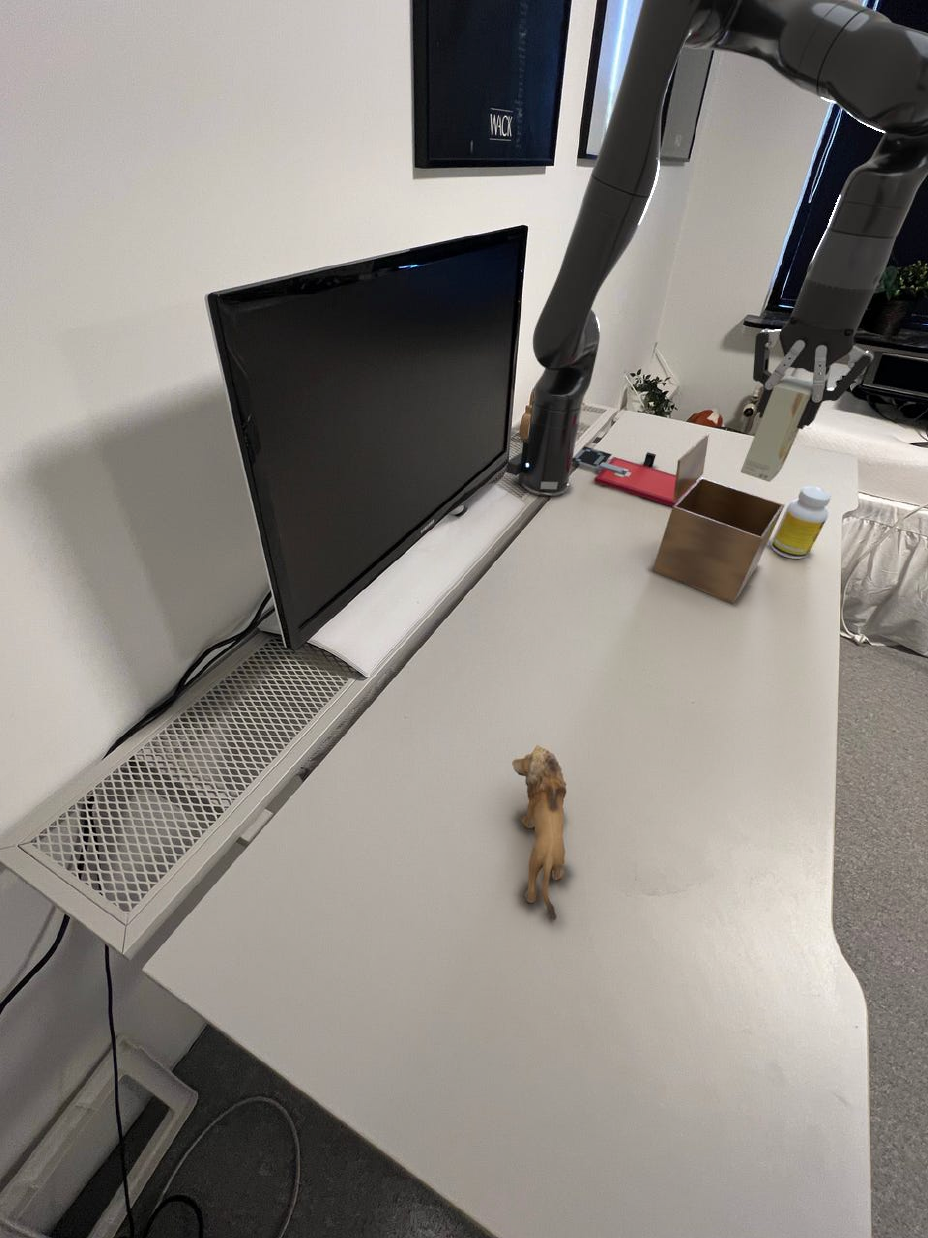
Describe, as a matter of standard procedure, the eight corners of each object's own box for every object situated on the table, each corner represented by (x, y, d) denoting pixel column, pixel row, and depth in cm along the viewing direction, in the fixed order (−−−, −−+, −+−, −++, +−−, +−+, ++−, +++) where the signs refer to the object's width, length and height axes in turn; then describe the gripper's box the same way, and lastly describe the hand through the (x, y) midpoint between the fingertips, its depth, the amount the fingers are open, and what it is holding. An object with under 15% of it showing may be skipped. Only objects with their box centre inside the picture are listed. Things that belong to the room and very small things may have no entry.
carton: (652, 570, 100) (672, 506, 92) (679, 538, 109) (700, 477, 100) (733, 604, 95) (762, 538, 87) (756, 567, 103) (784, 504, 95)
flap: (675, 502, 92) (672, 502, 92) (703, 473, 100) (700, 473, 100) (680, 460, 88) (677, 460, 88) (708, 433, 96) (706, 433, 96)
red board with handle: (586, 446, 135) (560, 473, 126) (589, 435, 133) (562, 461, 124) (719, 485, 125) (702, 518, 115) (724, 473, 123) (706, 505, 113)
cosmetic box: (769, 483, 82) (808, 395, 74) (738, 473, 84) (773, 385, 76) (783, 468, 86) (821, 382, 78) (753, 458, 88) (787, 373, 79)
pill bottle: (802, 565, 104) (832, 507, 96) (765, 551, 107) (791, 493, 99) (811, 549, 108) (841, 492, 100) (775, 536, 111) (801, 479, 103)
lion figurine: (504, 789, 67) (512, 739, 61) (550, 786, 68) (563, 737, 62) (527, 924, 56) (540, 880, 50) (582, 920, 57) (601, 875, 51)
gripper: (915, 285, 68) (843, 428, 79) (787, 263, 74) (738, 399, 85) (905, 295, 63) (831, 447, 75) (770, 271, 69) (720, 414, 81)
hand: (781, 420), depth 80 cm, fingers closed on cosmetic box, 4 cm apart
